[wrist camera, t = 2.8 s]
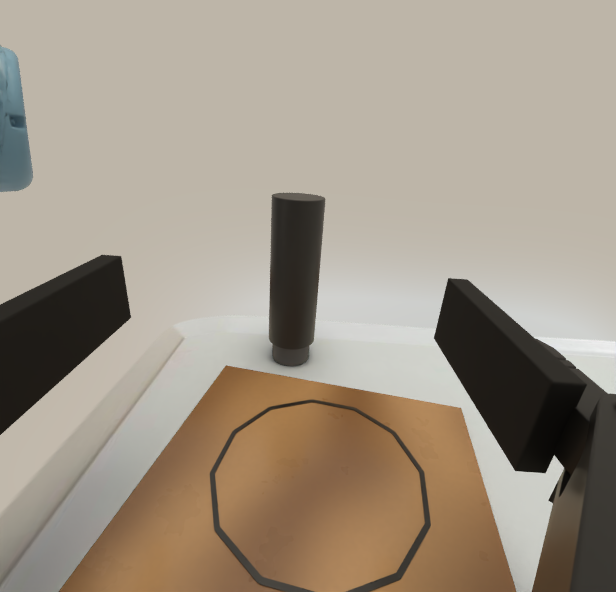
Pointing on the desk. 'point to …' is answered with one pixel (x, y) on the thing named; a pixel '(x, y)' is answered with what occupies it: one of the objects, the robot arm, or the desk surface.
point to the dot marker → (294, 274)
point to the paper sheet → (304, 499)
